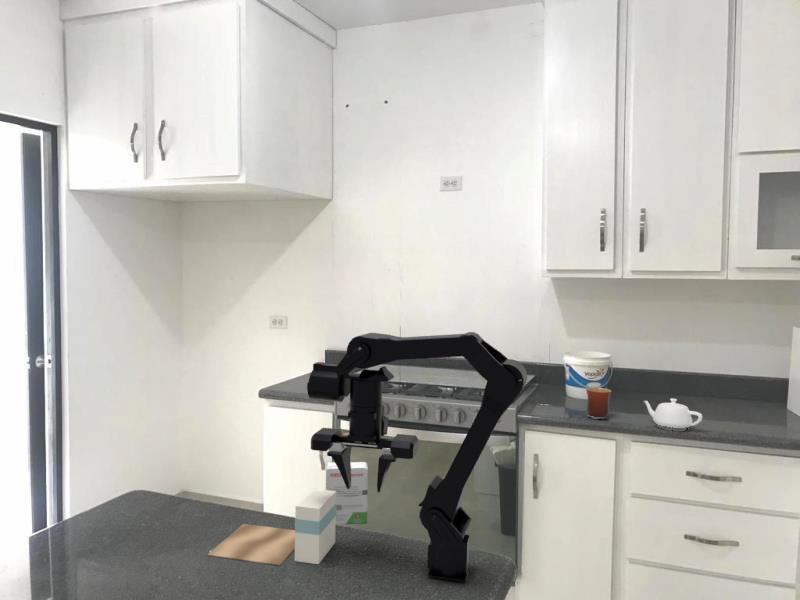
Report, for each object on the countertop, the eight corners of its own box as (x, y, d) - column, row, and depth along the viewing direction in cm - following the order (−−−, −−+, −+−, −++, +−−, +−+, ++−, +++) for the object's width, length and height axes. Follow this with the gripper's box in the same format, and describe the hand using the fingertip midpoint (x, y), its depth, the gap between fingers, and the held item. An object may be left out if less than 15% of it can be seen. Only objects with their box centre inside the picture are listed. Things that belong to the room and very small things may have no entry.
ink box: (366, 515, 133) (367, 460, 132) (367, 525, 128) (368, 468, 127) (325, 515, 132) (326, 460, 131) (324, 525, 127) (325, 468, 127)
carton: (335, 542, 120) (336, 491, 119) (318, 564, 111) (319, 508, 110) (312, 539, 121) (313, 488, 120) (294, 561, 112) (295, 506, 111)
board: (309, 533, 123) (309, 532, 123) (279, 565, 110) (279, 564, 110) (243, 524, 126) (243, 523, 126) (207, 555, 113) (207, 554, 113)
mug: (614, 421, 222) (615, 392, 222) (590, 421, 222) (592, 392, 221) (600, 413, 234) (601, 385, 234) (577, 413, 233) (578, 385, 233)
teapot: (634, 425, 218) (635, 396, 217) (649, 419, 226) (651, 391, 226) (693, 437, 203) (695, 406, 203) (708, 431, 212) (709, 401, 211)
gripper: (425, 398, 118) (423, 480, 119) (331, 391, 122) (329, 471, 123) (413, 411, 107) (411, 501, 108) (310, 403, 111) (308, 490, 112)
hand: (364, 489), depth 113 cm, fingers open, 5 cm apart
